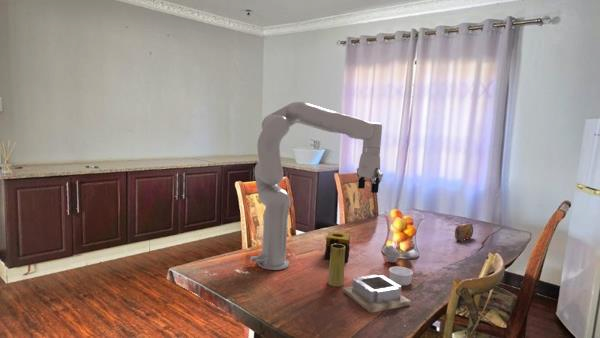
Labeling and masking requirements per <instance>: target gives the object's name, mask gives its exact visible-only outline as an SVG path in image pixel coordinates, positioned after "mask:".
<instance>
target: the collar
mask: <svg viewBox="0 0 600 338" xmlns="http://www.w3.org/2000/svg"><path fill="white" fill-rule="evenodd" d="M352 286H353V288H352V290H353V291H354V292H355V293H357V294H358V295H359V296H361V297H362V298H363V299H365V300H366V301H367V302H369V303H370V304H371V303H376V304H380V303H385V302H391V301H396V300H398V298H401V295H402V285H398V284H396V283H395V282H393V281H392V280H390V278H388V276H387V277H386V276H385V275H384V274H379V275H377V274H370V275H362V276H356V278H353V279H352ZM378 287H379V288H380V289H375V290H374V289H373V288H378Z"/></svg>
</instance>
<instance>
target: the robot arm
mask: <svg viewBox="0 0 600 338" xmlns="http://www.w3.org/2000/svg"><path fill="white" fill-rule="evenodd" d="M295 124H301V125H304V126H306V127H307V126H308V127H311V128H315V129H317V130H321V131H325V132H329V133H335V134H337V133H338V134H341V135H346V136H347V137H349V138H350V139H354V140H362V148H361V154H360V158H359V161H358V162H359V163H358V167H357V168H356V173H357V179H358V183H357V189H366V188H365V186H366V179H371V180H372V183H371V191H370V192H371V193H372V194H376V193H377V194H378V193H379V189H380V188H379V185H380V183H381V182H382V179H383V177H384V174H383V173H382V172H381V155H380V154H381V147H382V146H381V145H382V131H383V125H382V123H380V122H373V121H366V120H364V119H361V118H358V117H355V116H351V115H348V114H343V113H341V112H337V111H335V110H331V109H327V108H323V107H321V106H318V105H315V104H311V103H308V102H305V101H297V102H296V101H295V102H294V101H293V102H291V103H289V104H287V105H284V106H283V107H282V108H279V109H278V110H276V111H273V112H272V113H270V114H268V115H266V116H264V117H263V119H262V121H261V129H262V130H261V132H260V134H259V135H258V139H257V145H256V146H257V157H258V161H257V163H256V164H255V167H254V179H255V185H256V190H257V195H258V198H259V200H260V203H261V204H262V205H264V206H265V211H264V216H263V225H262V226H263V227H262V228H263V229H262V230H263V233H262V251H261V252H259V254H257V256H255V255H254V256H253V255H252V256H250V259H249V260H250V262H255V264H256V263H257V265H258V266H259V267H260V268H261V269H265V270H268V271H279V270H281V271H282V270H284V269H287V268H289V266H290V261H289V260H288V259H286V256H287V237H288V220H289V211H290V207H291V198H290V195H289V194H288V192H287V191H286V190H285V189H284V188H281V187H280V184H281V182H282V181H283V179H284V169H283V164H282V158H281V151H280V149H281V147H280V144H281V142H282V140H283V138H284V137H285V136H286V135H287V134H288V133H289V132H290V129H291V127H292V126H294V125H295Z"/></svg>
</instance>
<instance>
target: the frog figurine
mask: <svg viewBox="0 0 600 338" xmlns="http://www.w3.org/2000/svg"><path fill="white" fill-rule="evenodd" d="M383 251H384V254H385V256H386V260H387V261H388V262H389V263H396V262H397V261H398V259H399V257H400V252H399V250H397V249H396V248H395V247H394V246H393V245H388V246H386V247H384V248H383Z"/></svg>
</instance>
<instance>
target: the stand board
mask: <svg viewBox="0 0 600 338" xmlns="http://www.w3.org/2000/svg"><path fill="white" fill-rule="evenodd" d="M352 288H353V285H352V286H345V287H343V289H342V290H343V291H342V292H343V293H344V294H345V295H347V296H348V297H349V298H350V299H352V300H353V301H355V303H357V304H358V305H359V306H361V307H362V308H363V309H364V310H366V311H367V312H368V313H369V314H372V313H377V312H382V311H386V310H392V309H393V310H394V309H397V308H402V307H409V306H411V300H410V299H408V298H407V297H405V296H403V295H402V294H401V298H398V300H396V301H391V302H385V303H380V304H376V303H371V304H370V303H369V302H367V301H366V300H365V299H363V298H362V297H361V296H359V295H358V294H357V293H355V292H354V291H353V290H352ZM373 289H374V290H375V289H380V288H379V287H378V288H373Z"/></svg>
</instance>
